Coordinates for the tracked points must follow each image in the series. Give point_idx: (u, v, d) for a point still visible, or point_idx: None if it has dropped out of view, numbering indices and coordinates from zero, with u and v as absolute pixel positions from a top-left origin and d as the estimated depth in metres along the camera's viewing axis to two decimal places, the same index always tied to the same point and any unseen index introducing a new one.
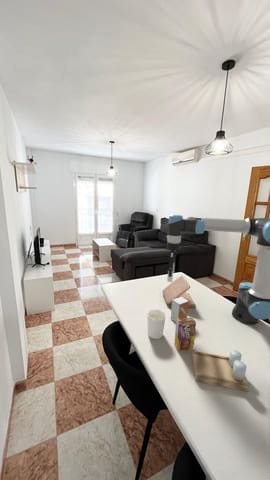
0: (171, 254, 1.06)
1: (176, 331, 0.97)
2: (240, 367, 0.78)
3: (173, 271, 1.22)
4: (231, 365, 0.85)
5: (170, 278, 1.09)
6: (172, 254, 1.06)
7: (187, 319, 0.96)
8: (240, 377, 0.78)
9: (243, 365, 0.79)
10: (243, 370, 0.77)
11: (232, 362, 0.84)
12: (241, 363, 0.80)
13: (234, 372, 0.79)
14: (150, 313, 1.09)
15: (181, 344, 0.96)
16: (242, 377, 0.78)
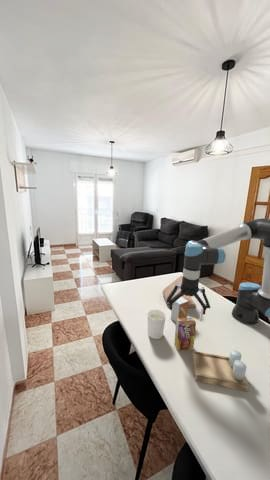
0: (175, 285, 0.94)
1: (176, 331, 0.97)
2: (240, 367, 0.78)
3: (200, 318, 0.93)
4: (231, 365, 0.85)
5: None
6: (175, 286, 0.93)
7: (187, 319, 0.96)
8: (240, 377, 0.78)
9: (243, 365, 0.79)
10: (243, 370, 0.77)
11: (232, 362, 0.84)
12: (241, 363, 0.80)
13: (234, 372, 0.79)
14: (150, 313, 1.09)
15: (181, 344, 0.96)
16: (242, 377, 0.78)
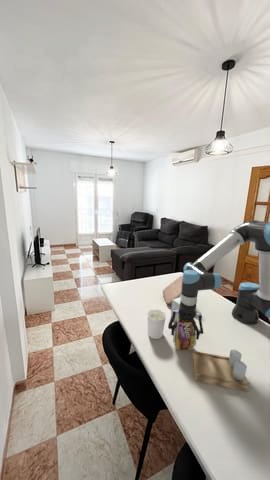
0: (173, 311, 0.97)
1: (176, 331, 0.97)
2: (240, 367, 0.78)
3: (194, 343, 0.96)
4: (231, 365, 0.85)
5: (173, 337, 0.99)
6: (173, 311, 0.96)
7: None
8: (240, 377, 0.78)
9: (243, 365, 0.79)
10: (243, 370, 0.77)
11: (232, 362, 0.84)
12: (241, 363, 0.80)
13: (234, 372, 0.79)
14: (150, 313, 1.09)
15: (181, 344, 0.96)
16: (242, 377, 0.78)
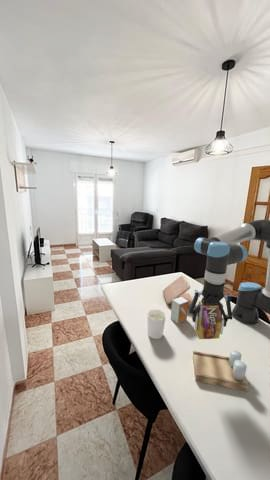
0: (195, 292, 0.80)
1: (199, 316, 0.81)
2: (240, 367, 0.78)
3: (220, 331, 0.80)
4: (231, 365, 0.85)
5: (194, 324, 0.83)
6: (195, 293, 0.80)
7: None
8: (240, 376, 0.78)
9: (243, 365, 0.79)
10: (244, 370, 0.77)
11: (232, 362, 0.84)
12: (241, 363, 0.80)
13: (234, 372, 0.79)
14: (150, 313, 1.09)
15: (205, 332, 0.80)
16: (242, 377, 0.78)
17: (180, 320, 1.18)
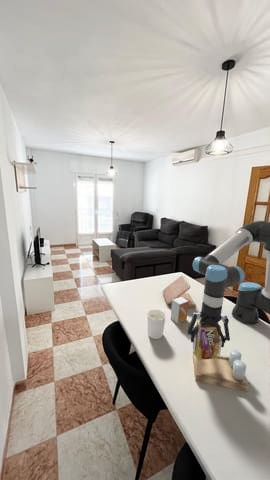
0: (193, 314, 0.82)
1: (197, 337, 0.82)
2: (240, 367, 0.78)
3: (218, 352, 0.82)
4: (231, 365, 0.85)
5: (193, 344, 0.84)
6: (193, 314, 0.82)
7: None
8: (240, 376, 0.78)
9: (243, 364, 0.79)
10: (243, 369, 0.77)
11: (232, 362, 0.84)
12: (240, 362, 0.80)
13: (234, 372, 0.79)
14: (150, 313, 1.09)
15: (203, 353, 0.82)
16: (242, 377, 0.78)
17: (180, 320, 1.18)
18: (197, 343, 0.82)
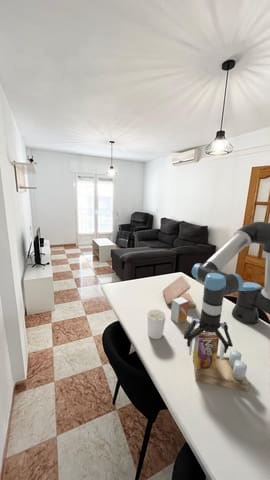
0: (192, 320, 0.83)
1: (195, 347, 0.84)
2: (241, 367, 0.78)
3: (221, 357, 0.82)
4: (231, 365, 0.85)
5: (189, 349, 0.85)
6: (192, 320, 0.82)
7: (208, 333, 0.83)
8: (241, 377, 0.78)
9: (243, 365, 0.79)
10: (244, 370, 0.77)
11: (232, 362, 0.84)
12: (241, 363, 0.80)
13: (235, 372, 0.79)
14: (150, 313, 1.09)
15: (201, 362, 0.83)
16: (243, 377, 0.78)
17: (180, 320, 1.18)
18: (195, 353, 0.83)
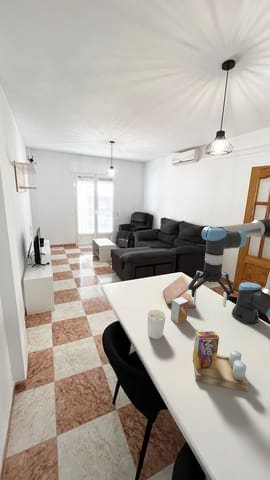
0: (196, 272, 0.91)
1: (195, 347, 0.84)
2: (241, 367, 0.78)
3: (224, 304, 0.91)
4: (231, 365, 0.85)
5: (193, 299, 0.94)
6: (197, 272, 0.91)
7: (208, 333, 0.83)
8: (241, 377, 0.78)
9: (243, 364, 0.79)
10: (244, 370, 0.77)
11: (232, 362, 0.84)
12: (240, 363, 0.80)
13: (235, 373, 0.79)
14: (150, 313, 1.09)
15: (201, 362, 0.83)
16: (243, 377, 0.78)
17: (180, 320, 1.18)
18: (195, 353, 0.83)
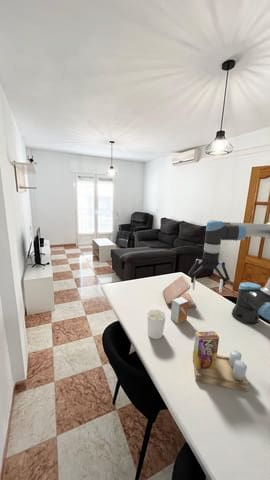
0: (196, 260, 1.01)
1: (195, 347, 0.84)
2: (242, 367, 0.78)
3: (220, 290, 1.01)
4: (231, 365, 0.85)
5: None
6: (196, 260, 1.01)
7: (208, 333, 0.83)
8: (241, 377, 0.78)
9: (243, 364, 0.79)
10: (245, 370, 0.77)
11: (232, 362, 0.84)
12: (241, 362, 0.80)
13: (236, 373, 0.79)
14: (150, 313, 1.09)
15: (201, 362, 0.83)
16: (243, 377, 0.78)
17: (180, 320, 1.18)
18: (195, 353, 0.83)
